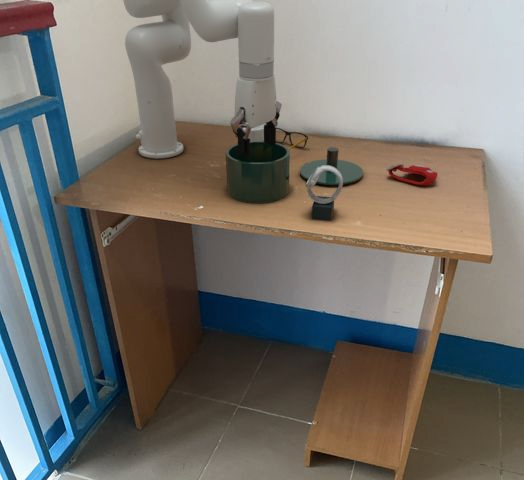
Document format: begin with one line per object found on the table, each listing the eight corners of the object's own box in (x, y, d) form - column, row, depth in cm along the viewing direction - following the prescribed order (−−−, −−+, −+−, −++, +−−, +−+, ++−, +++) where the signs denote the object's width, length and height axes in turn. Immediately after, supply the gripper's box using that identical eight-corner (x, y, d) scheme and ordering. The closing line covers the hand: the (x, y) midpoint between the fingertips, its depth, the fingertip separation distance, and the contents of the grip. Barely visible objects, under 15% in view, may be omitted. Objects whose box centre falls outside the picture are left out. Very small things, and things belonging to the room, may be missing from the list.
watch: (306, 207, 130) (308, 161, 123) (341, 210, 129) (345, 163, 122) (302, 218, 126) (304, 170, 119) (338, 221, 125) (342, 173, 118)
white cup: (267, 168, 149) (265, 130, 142) (238, 167, 150) (235, 129, 144) (273, 155, 155) (271, 118, 148) (245, 154, 156) (242, 118, 149)
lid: (287, 177, 144) (288, 151, 140) (321, 158, 154) (323, 134, 150) (341, 192, 137) (343, 166, 132) (374, 172, 146) (377, 146, 142)
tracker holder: (424, 165, 147) (448, 169, 138) (420, 183, 148) (443, 188, 140) (384, 160, 142) (406, 164, 134) (381, 178, 144) (402, 183, 135)
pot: (215, 192, 137) (212, 154, 131) (253, 173, 146) (252, 136, 140) (263, 208, 130) (263, 168, 124) (300, 187, 139) (302, 149, 133)
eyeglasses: (309, 148, 160) (310, 134, 158) (281, 164, 151) (281, 149, 149) (268, 139, 167) (268, 125, 164) (239, 153, 158) (238, 139, 155)
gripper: (267, 59, 128) (266, 135, 139) (216, 75, 118) (221, 156, 128) (293, 64, 125) (291, 142, 135) (244, 80, 114) (246, 163, 125)
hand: (257, 149), depth 132 cm, fingers open, 9 cm apart
